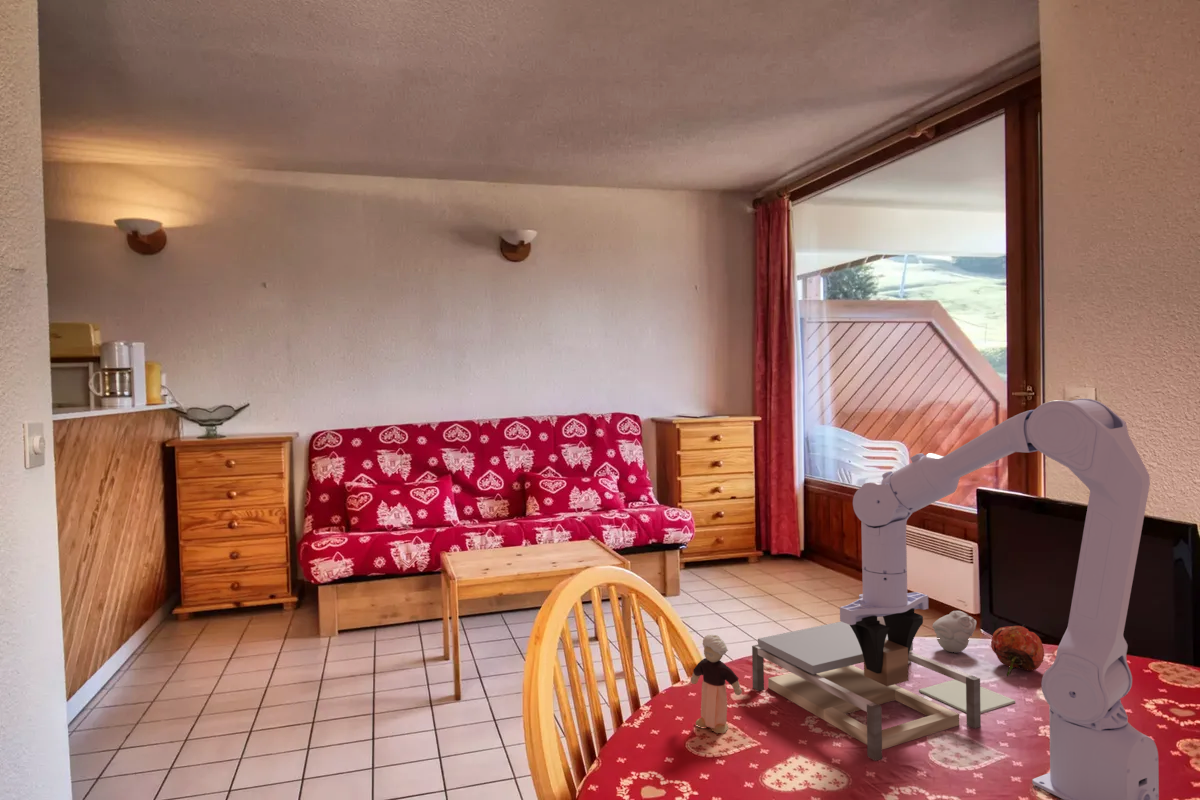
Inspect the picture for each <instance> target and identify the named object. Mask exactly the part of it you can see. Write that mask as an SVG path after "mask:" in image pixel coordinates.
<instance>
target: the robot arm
mask: <svg viewBox="0 0 1200 800" xmlns="http://www.w3.org/2000/svg"><path fill="white" fill-rule="evenodd" d="M1034 452H1039V453H1041V454H1043V455H1044V456H1046V457H1047V458H1049V459H1051V460H1053V461H1054V462H1057V463H1058V464H1061V465H1063V466H1065V467H1066V468H1068V469H1069V470H1070V471H1071V472H1072V474H1073V475H1075V477H1077V478H1078V479H1079V480H1080V482H1082V483H1083V484H1084V485H1085V486H1086V487H1087V488H1088V490H1089V497H1088V503H1087V509H1086V510H1087V511H1086V515H1085V520H1084V527H1083V532H1082V537H1081V538H1082V539H1081V544H1080V550H1079V555H1078V563H1077V568H1076V574H1075V580H1074V587H1073V593H1072V598H1071V606H1070V611H1069V617H1068V621H1067V622H1068V623H1067V628H1066V630H1065V632H1064V634H1063V635H1062V638H1061V640H1060V642H1059V644H1058V646H1057V650H1056V655H1055V660H1054V661H1053V663H1052V664H1051V666H1049V667H1048V668H1047V669H1046V670H1045V672H1044V673H1043V674H1042V678H1041V692H1042V695H1043V697H1044V699H1045V701H1046V702H1047V704H1048V705H1049V712H1048V713H1049V767H1050V768H1049V772H1048V773H1044V774H1043V775H1040V776H1037V777H1035V778H1032V780H1031V781H1032V784H1033V785H1034V786H1036V787H1038V788H1040V789H1042V790H1044V791H1046V792H1048V793H1049V794H1052V795H1054V796H1055V797H1057V798H1060V799H1061V800H1159V799H1160V793H1159V792H1160V789H1159V788H1160V785H1159V782H1160V781H1159V779H1160V777H1159V776H1160V775H1159V774H1160V773H1159V767H1160V766H1159V750H1158V747H1157V745H1156V742H1155V740H1154V739H1153V738H1152V737H1149V736H1148V735H1146V734H1144V733H1142V732H1141V731H1139V730H1138V729H1137V728H1135V727H1134V726H1133V725H1131V723H1130V722H1128V720H1129V719H1128V718H1129V717H1128V714H1127V712H1126V709H1125V708H1124V705H1123V703H1122V698H1124V697H1125V696H1127V695H1128V694H1129V692H1130V691H1131V688H1132V686H1133V675H1132V671H1131V669H1130V667H1129V664H1128V659H1127V653H1128V646H1129V644H1128V643H1127V640H1126V639H1125V637H1124V633H1125V632H1124V631H1125V627H1126V621H1127V616H1128V611H1129V610H1128V609H1129V604H1130V598H1131V593H1132V586H1133V581H1134V577H1135V569H1136V565H1137V559H1138V554H1139V547H1140V542H1141V536H1142V530H1143V525H1144V519H1145V514H1146V513H1145V512H1146V508H1147V503H1148V497H1149V491H1150V485H1151V482H1150V481H1151V479H1150V478H1151V476H1150V474H1149V472H1148V470H1147V468H1146V466H1145V464H1144V461H1143V460H1142V458H1141V456H1140V454H1139V452H1138V450H1137V448H1136V447H1135V445H1134V443H1133V441H1132V439H1131V437H1130V434H1129V430H1128V425H1127V422H1126V421H1125V420H1124V419H1123V418H1121V417H1120V416H1119V415H1118V414H1117V413H1116V412H1114V411H1113V409H1111V408H1110V407H1108V406H1107V405H1106V404H1104V403H1103V402H1101V401H1098V400H1095V399H1091V398H1077V399H1074V400H1062V399H1061V400H1060V399H1059V400H1056V399H1055V400H1050V401H1047V402H1044V403H1042V404H1040V405H1038V406H1037V407H1036V408H1035V409H1030V410H1026V411H1023V412H1020V413H1018V414H1016V415H1013V416H1012V417H1009V418H1008V419H1006V420H1004V421H1002V422H1001V423H999V424H997V425H995V426H993V427H992V428H990V429H989V430H986V431H985V432H983V433H982V434H979V435H978V436H977V437H975V438H973V439H971V440H969V442H967V443H965V444H963V445H961V446H959V447H957V448H956V449H955V450H953V451H951V452H949V453H947V454H946V455H940V454H937V453H935V452H932V453H931V452H929V453H927V454H924V453H923V452H921V453H916V454H915V455H912V456H911V457H910V461H911V462H910V463H908V464H907V465H904V466H903V467H901V468H900V469H897V470H895V471H894V472H893V471H886V472H884V473H883V474H882V475H881V477H882V479H881V481H879V482H865V483H863V484H862V486H861V487H859V488H858V489H857V490H856V491H855V493H854V495H853V497H852V507H853V511H854V514H855V516H856V518H858V519H859V521H861V525H860V526H861V569H862V573H861V574H862V576H861V577H862V579H861V581H862V582H861V583H862V593H861V594H860V593H859V595H858V599H856V600H854V601H853V602H851V603H849V604H847V605H842V606H840V607H839V622H844V623H847V624H849V625H850V626H851V628H852V630H853V632H854V633H855V635H856V637H857V640H858V642H859V644H860V647H861V650H862V654H863V657H864V661H865V664H866V668H867V669H868V670H870V671H872V672H875V673H877V674H878V673H881V671H882V666H883V649H884V643H885V639H886V636H887V635H888V640H889V641H892V642H894V643H897V644H899V645H902V646H905V647H907V648H908V655H909V651H910V648H911V645H912V642H913V643H914V640H915V639H914V638H915V636H916V635H917V633H918V631H919V629H920V628H921V626H922V625H923V623H924V616H923V615H922V614H920V613H916V612H915V610H929V595H928V594H924V593H922V592H918V591H914V592H908V565H907V563H908V561H907V559H908V558H907V556H908V555H907V554H908V553H907V521H908V520H909V518H910V517H912V516H911V515H913V513H916V512H917V511H920V510H921V509H923V508H925V507H927V506H929V505H932V504H934V503H936V502H938V501H940V500H942V499H944V498H946V497H947V496H948V497H949V496H951V495H952V494H955V492H956V491H957V489H958V486H959V481H960V480H961V479H960V478H961V477H964V476H967V475H969V474H971V473H973V472H975V471H977V470H979V469H982V468H984V467H987V466H988V465H990V464H992V463H994V462H996V461H998V460H1001V459H1002V458H1006V457H1008V456H1010V455H1012V454H1014V453H1034ZM881 616H883V618H884V622H885V625H886V626H885V625H883V624H880V621H879V620H878V621H877V617H881Z"/></svg>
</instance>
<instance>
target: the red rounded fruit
mask: <svg viewBox="0 0 1200 800" xmlns="http://www.w3.org/2000/svg"><path fill="white" fill-rule="evenodd" d="M1026 627H1027V626H1026V624H1022V625H1013V626H1010V625H1007V626H1003V627H999V628H997V629H996V630H995V631H994V632H993V634H992V637H991V643H990V648H991V649H992V652H993V653H994V654H995V655H996V657H997V660H998V661H999V662H1000V663H1001V664H1003V665H1004V666H1006V667H1009V666H1010V667H1009V668H1008V670H1007V673H1006V676H1007V677H1009V675H1010V674H1011V671H1012V670H1013V669H1014V668H1015V667H1016V669H1020V670H1024V671H1028V672H1029V671H1030V672H1031V671H1036V670H1038V669H1039V667H1040V666H1041V665H1042V664H1043V662H1044V657H1045V648H1044V645H1043V642H1042V639H1041V638H1040V637H1039V636H1038V635H1037V634H1036V633H1035V632H1033V631H1029V629H1028V628H1026Z"/></svg>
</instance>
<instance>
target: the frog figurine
mask: <svg viewBox="0 0 1200 800" xmlns="http://www.w3.org/2000/svg"><path fill="white" fill-rule="evenodd" d="M976 628H977V620H976V619H974V617H972V616H971V615H969V614H968V613H966V612H964V611H961V610H953V611H951V612H949V614H946V615H943V616H942V617H939V618H938V619H936V620H935V621H934V622H933V624H932V629H933V630H934V633H935V634H936V641H937V643H938V644H939V645H940V647H941V648H942V649H943V650H944V651H947V652H949V653H953V652H954V653H955V654H957V653H960V652H962V651H965V650H966V648H967V647H968V646H969V641H970V637H973V634H974V632H975V631H976ZM937 638H940V639H937ZM968 639H969V640H968Z"/></svg>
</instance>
